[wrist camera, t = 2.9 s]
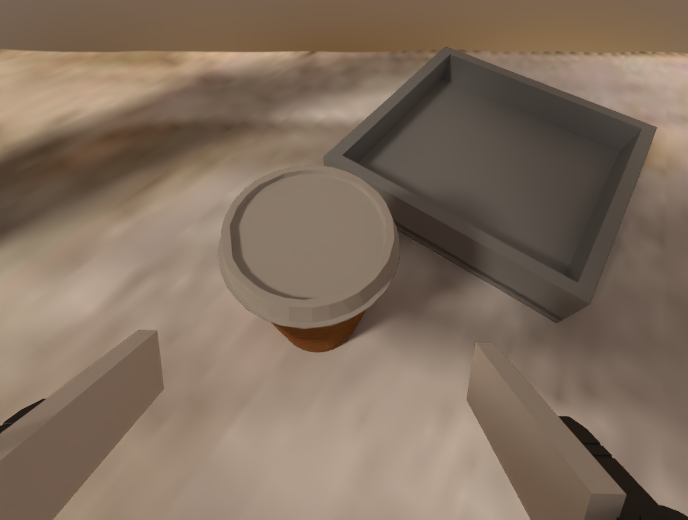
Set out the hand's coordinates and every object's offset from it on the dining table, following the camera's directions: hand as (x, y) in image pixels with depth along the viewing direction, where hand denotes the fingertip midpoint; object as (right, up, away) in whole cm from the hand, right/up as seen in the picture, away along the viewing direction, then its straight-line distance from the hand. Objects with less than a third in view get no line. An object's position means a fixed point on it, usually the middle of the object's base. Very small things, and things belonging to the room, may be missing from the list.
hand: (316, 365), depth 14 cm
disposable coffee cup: (-1, 0, +13) cm, 13 cm away
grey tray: (+16, +14, +22) cm, 30 cm away
